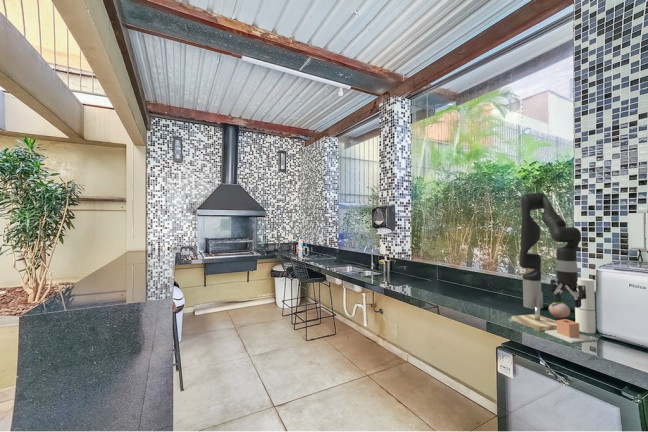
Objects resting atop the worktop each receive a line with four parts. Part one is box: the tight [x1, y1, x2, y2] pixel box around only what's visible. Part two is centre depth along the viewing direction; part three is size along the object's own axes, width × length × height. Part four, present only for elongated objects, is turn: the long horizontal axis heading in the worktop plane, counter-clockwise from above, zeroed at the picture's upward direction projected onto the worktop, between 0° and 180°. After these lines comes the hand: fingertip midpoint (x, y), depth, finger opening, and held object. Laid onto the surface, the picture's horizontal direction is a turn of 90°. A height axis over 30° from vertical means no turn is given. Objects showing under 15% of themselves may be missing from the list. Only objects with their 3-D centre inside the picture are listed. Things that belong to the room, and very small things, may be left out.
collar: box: [556, 318, 580, 338], centre depth 130 cm, size 6×6×6 cm
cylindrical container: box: [574, 277, 597, 334], centre depth 137 cm, size 7×7×25 cm
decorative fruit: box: [548, 301, 571, 320], centre depth 152 cm, size 9×8×10 cm
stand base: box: [511, 313, 557, 332], centre depth 145 cm, size 16×16×2 cm
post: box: [534, 307, 541, 321], centre depth 146 cm, size 2×2×6 cm
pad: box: [544, 329, 594, 344], centre depth 130 cm, size 12×12×1 cm
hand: (567, 304), depth 130 cm, fingers open, 8 cm apart
